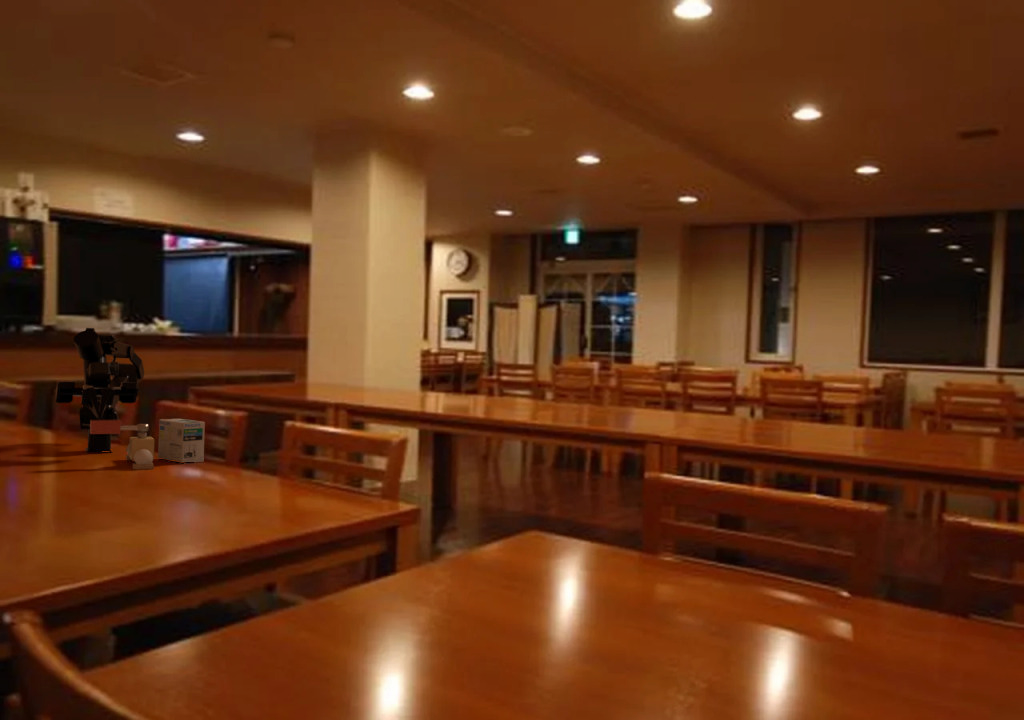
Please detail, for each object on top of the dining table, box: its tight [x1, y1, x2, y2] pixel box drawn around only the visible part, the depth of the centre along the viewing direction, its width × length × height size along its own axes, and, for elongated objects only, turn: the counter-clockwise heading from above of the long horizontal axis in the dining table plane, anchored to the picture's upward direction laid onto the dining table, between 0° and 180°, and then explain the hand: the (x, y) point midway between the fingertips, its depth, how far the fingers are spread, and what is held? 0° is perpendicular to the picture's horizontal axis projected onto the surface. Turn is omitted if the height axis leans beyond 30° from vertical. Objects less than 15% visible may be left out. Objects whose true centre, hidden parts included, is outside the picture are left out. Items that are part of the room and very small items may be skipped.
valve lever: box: [89, 419, 150, 435], centre depth 200 cm, size 3×13×3 cm, turn 122°
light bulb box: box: [157, 418, 206, 463], centre depth 214 cm, size 11×7×11 cm, turn 58°
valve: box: [125, 431, 155, 470], centre depth 205 cm, size 17×5×8 cm, turn 32°
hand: (99, 417), depth 206 cm, fingers closed
